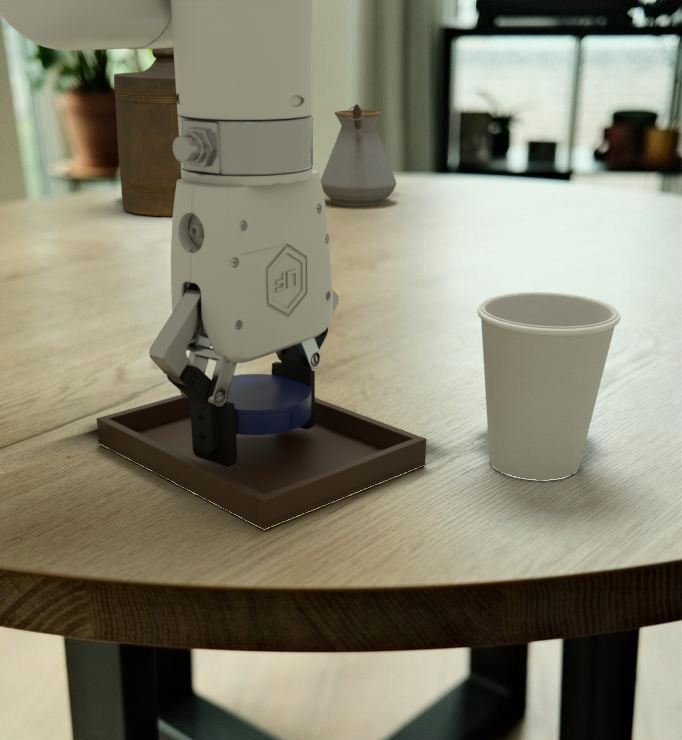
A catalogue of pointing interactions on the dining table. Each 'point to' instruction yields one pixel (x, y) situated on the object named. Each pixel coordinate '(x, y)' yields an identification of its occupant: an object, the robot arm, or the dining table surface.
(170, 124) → the wooden container
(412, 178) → the dining table surface
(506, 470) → the dixie cup
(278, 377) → the lid
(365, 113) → the coffee pot
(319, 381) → the dining table surface
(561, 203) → the dining table surface
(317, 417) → the tray
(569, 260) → the dining table surface
